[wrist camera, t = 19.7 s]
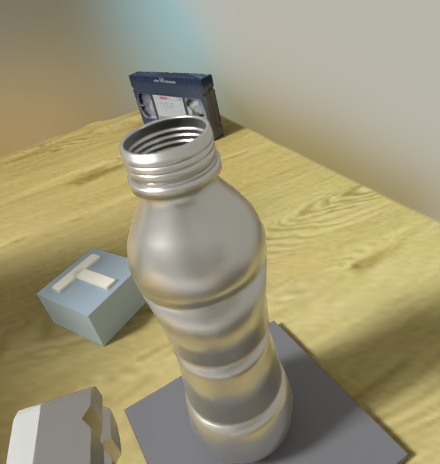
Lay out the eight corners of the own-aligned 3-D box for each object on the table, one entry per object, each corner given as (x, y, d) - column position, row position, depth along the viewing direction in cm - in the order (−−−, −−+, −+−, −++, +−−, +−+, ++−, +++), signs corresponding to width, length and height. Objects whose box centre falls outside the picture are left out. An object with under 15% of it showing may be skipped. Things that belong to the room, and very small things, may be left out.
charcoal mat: (213, 618, 20) (211, 615, 20) (127, 414, 30) (124, 410, 30) (407, 459, 24) (408, 453, 24) (274, 325, 34) (273, 320, 34)
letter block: (104, 348, 36) (86, 313, 34) (54, 324, 40) (34, 291, 37) (156, 294, 41) (143, 260, 38) (106, 277, 44) (91, 245, 42)
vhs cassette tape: (144, 128, 79) (127, 75, 74) (156, 122, 81) (140, 69, 75) (212, 143, 67) (198, 80, 62) (225, 135, 69) (212, 73, 63)
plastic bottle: (192, 480, 25) (52, 190, 14) (202, 381, 30) (108, 115, 19) (302, 476, 24) (249, 160, 13) (291, 374, 30) (248, 90, 18)
